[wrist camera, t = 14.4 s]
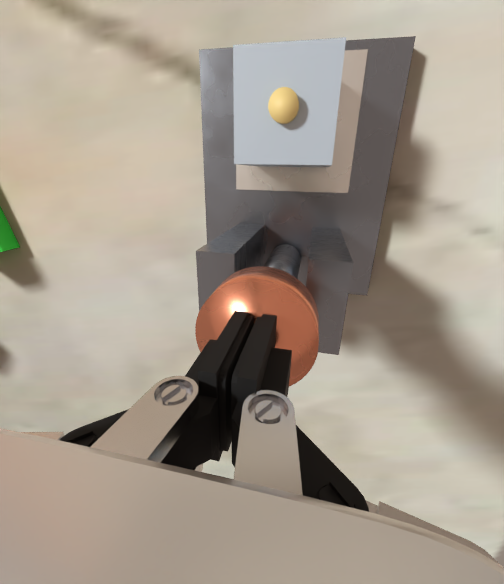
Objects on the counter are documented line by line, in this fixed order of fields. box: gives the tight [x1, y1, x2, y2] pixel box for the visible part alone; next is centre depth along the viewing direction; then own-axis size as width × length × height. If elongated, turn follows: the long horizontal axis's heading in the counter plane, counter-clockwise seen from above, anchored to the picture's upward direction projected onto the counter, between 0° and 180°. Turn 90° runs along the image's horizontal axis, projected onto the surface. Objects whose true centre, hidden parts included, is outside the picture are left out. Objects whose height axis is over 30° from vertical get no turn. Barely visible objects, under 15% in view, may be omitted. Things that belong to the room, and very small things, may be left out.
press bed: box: [196, 36, 416, 355], centre depth 17 cm, size 16×13×10 cm
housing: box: [233, 37, 346, 167], centre depth 16 cm, size 5×5×6 cm
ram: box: [196, 244, 319, 386], centre depth 17 cm, size 5×5×12 cm
